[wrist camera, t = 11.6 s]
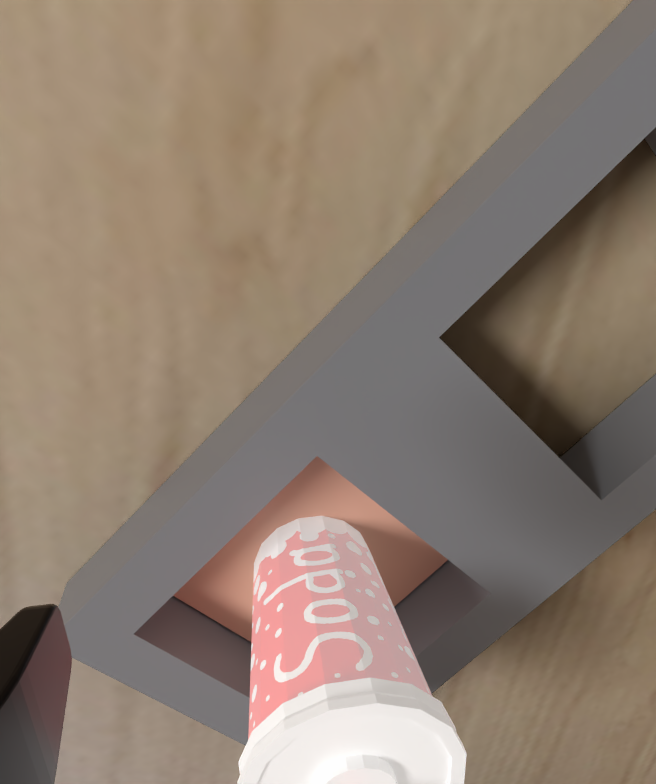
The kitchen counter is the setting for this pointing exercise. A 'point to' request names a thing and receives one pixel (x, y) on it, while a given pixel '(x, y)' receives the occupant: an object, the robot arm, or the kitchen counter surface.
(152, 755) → the kitchen counter surface
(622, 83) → the cup caddy
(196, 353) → the kitchen counter surface
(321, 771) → the beverage cup
